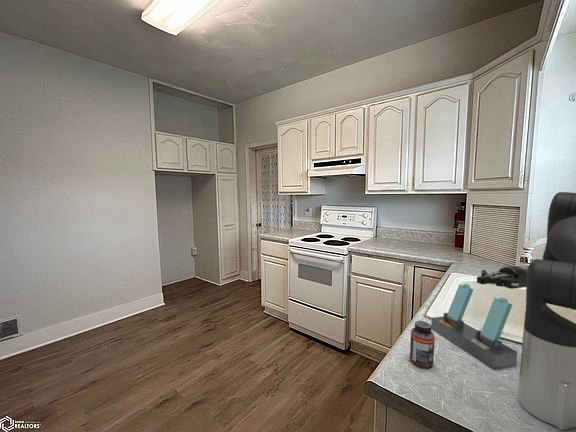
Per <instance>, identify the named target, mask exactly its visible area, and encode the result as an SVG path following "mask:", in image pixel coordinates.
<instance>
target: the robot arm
mask: <svg viewBox="0 0 576 432" xmlns="http://www.w3.org/2000/svg"><path fill="white" fill-rule="evenodd" d="M476 283H477V284H479V285H488V284H489V285H495V286H497V287H502V288H507V289H509V290H510V289H511V290H512V289H522V288H525V289H526V290H525V291H526V292H525V294H526V295H525V310H524V311H525V312H524V324H523V331H522V332H523V333H522V343H521V356H520V368H519V378H518V388H517V391H518V392H517V401H518V403H519V404H520V406H521V407H522V408H524V410H526V411H527V412H528V413H529V414H531V415H532V416H534V417H536V418H537V419H539V420H541V421H542V422H545V423H548V424H551V425H552V426H554V427H556V428H558V430H560V431H565V430H568V429H573V428H576V323H575V322H574V321H572V320H570V319H568V318H566V317H565V316H564V317H563V316H562V315H561V314H559V313H557V312H556V311H555V310H553V309H552V308H551V307H550V306H549V305H553V306H557V307H561V308H566V309H570V310H575V311H576V192H568V191H559V192H557V193H556V194H555V195H554V196H553V198H552V200H551V202H550V205H549V209H548V216H547V226H546V244H545V247H544V251H543V254H542V258H541V259H539V258H538V259H537V258H536V259H533V260H531V261H530V263H529V264H528V265H516V266H515V265H513V266H504V267H501V268H499V270H498V271H492V272H488V271H486V270H485V269H482V270H481V274H480V276H477V277H476ZM548 304H549V305H548Z"/></svg>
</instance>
